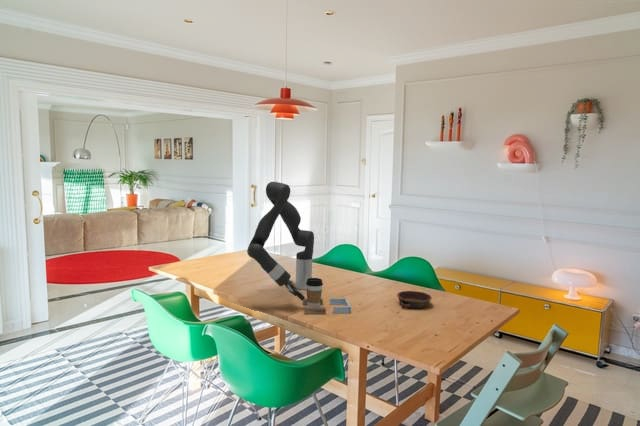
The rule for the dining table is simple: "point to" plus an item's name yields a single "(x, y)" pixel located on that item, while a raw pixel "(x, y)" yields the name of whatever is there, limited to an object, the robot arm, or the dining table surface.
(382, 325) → the dining table surface
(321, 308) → the clamp blocks
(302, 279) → the robot arm
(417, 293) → the dish
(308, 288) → the coffee cup
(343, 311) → the corral
